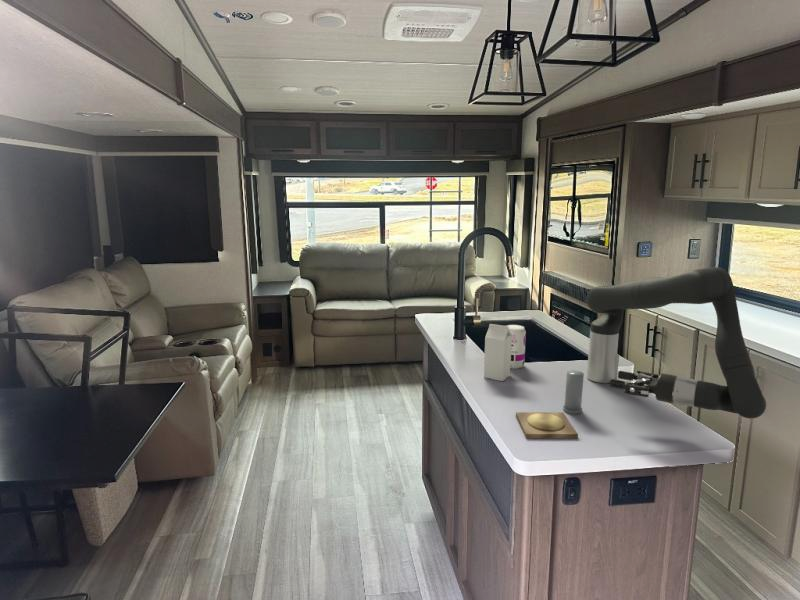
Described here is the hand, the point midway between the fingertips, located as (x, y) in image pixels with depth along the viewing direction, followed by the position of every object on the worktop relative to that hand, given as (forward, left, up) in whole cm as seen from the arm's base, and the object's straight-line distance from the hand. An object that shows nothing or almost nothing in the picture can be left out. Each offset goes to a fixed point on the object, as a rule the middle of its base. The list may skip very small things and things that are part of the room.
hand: (614, 378), depth 155 cm
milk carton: (+27, -36, -13) cm, 47 cm away
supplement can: (+19, -48, -13) cm, 53 cm away
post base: (+20, +4, -13) cm, 24 cm away
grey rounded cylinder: (+9, -7, -13) cm, 17 cm away
